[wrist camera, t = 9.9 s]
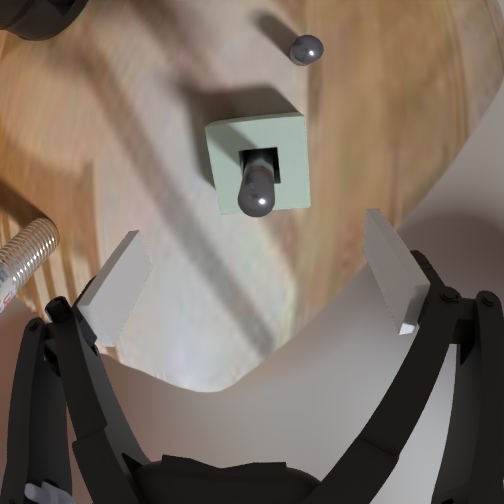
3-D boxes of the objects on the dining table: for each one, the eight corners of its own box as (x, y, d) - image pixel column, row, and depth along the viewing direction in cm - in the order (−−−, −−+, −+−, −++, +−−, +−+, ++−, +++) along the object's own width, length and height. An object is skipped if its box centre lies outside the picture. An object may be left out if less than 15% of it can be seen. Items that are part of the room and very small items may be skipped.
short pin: (287, 44, 25) (291, 35, 20) (312, 43, 25) (321, 34, 20) (290, 66, 27) (295, 61, 22) (315, 65, 27) (325, 61, 21)
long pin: (247, 146, 32) (234, 184, 21) (271, 143, 32) (273, 180, 20) (250, 168, 34) (240, 218, 22) (273, 166, 34) (276, 215, 22)
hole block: (213, 121, 31) (204, 127, 27) (299, 111, 30) (304, 116, 26) (226, 198, 36) (220, 214, 32) (305, 191, 35) (310, 206, 31)
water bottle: (43, 251, 43) (-34, 347, 22) (29, 219, 39) (-61, 310, 18) (66, 246, 42) (-18, 353, 21) (50, 211, 38) (-49, 311, 17)
